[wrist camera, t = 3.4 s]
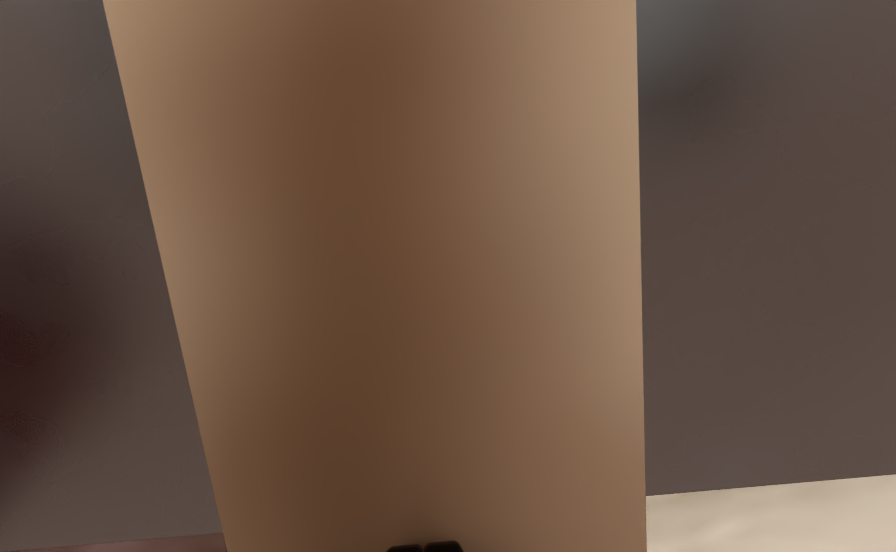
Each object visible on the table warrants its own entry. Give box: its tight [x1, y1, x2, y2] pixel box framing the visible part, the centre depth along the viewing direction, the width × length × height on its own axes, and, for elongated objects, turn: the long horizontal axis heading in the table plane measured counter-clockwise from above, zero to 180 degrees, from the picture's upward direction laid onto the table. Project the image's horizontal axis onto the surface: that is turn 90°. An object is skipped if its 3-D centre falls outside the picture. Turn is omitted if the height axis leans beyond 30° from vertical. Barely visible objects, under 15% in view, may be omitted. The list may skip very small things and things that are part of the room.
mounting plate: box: [0, 0, 896, 552], centre depth 10 cm, size 20×18×4 cm
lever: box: [103, 0, 647, 552], centre depth 9 cm, size 5×16×2 cm, turn 5°
